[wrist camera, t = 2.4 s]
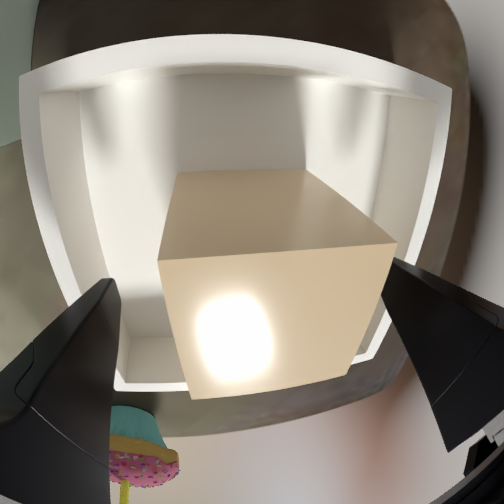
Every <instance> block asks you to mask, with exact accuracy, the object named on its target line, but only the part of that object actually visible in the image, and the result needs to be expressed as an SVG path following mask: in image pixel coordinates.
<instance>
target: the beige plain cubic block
mask: <svg viewBox="0 0 504 504" xmlns="http://www.w3.org/2000/svg"><path fill="white" fill-rule="evenodd" d="M397 244H398V242H396V241H395V240H394V239H393V238H392V237H391V236H390V235H389V234H387V233H386V232H385V231H384V230H383V229H382V228H380V227H379V226H378V225H377V224H376V223H375V222H373V221H372V220H371V219H370V218H369V217H367V216H366V215H365V214H364V213H363V212H361V211H360V210H359V209H358V208H356V207H355V206H354V205H353V204H351V203H350V202H349V201H348V200H346V199H345V198H344V197H342V196H341V195H340V194H339V193H337V192H336V191H335V190H333V189H332V188H331V187H329V186H328V185H327V184H325V183H324V182H323V181H321V180H320V179H319V178H317V177H316V176H314V175H313V174H312V173H310V172H309V171H308V170H306V169H242V170H215V171H197V172H182V173H177V177H176V181H175V184H174V188H173V192H172V196H171V200H170V204H169V208H168V212H167V217H166V221H165V225H164V230H163V234H162V239H161V244H160V249H159V254H158V259H157V263H158V268H159V273H160V279H161V284H162V288H163V293H164V298H165V302H166V307H167V311H168V316H169V320H170V324H171V328H172V332H173V336H174V340H175V344H176V348H177V351H178V355H179V359H180V362H181V366H182V369H183V373H184V376H185V379H186V383H187V386H188V389H189V392H190V396H191V399H207V398H219V397H229V396H238V395H246V394H253V393H260V392H266V391H273V390H279V389H284V388H290V387H295V386H300V385H305V384H309V383H314V382H318V381H323V380H327V379H331V378H335V377H339V376H343V375H346V373H347V371H348V369H349V367H350V365H351V363H352V361H353V359H354V357H355V355H356V352H357V350H358V348H359V346H360V344H361V342H362V339H363V337H364V335H365V332H366V330H367V328H368V325H369V323H370V321H371V318H372V316H373V313H374V311H375V308H376V306H377V303H378V300H379V298H380V295H381V292H382V290H383V287H384V284H385V281H386V278H387V276H388V273H389V270H390V267H391V264H392V261H393V257H394V254H395V251H396V248H397Z"/></svg>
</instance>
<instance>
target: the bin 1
mask: <svg viewBox="0 0 504 504" xmlns="http://www.w3.org/2000/svg"><path fill="white" fill-rule="evenodd" d="M38 4H39V0H0V147H2V146H4V145H7V144H9V143H12V142H14V141H17V140H19V139H22V138H21V127H20V113H19V76H21V75H23V74H25V73H27V72H30V71H31V56H32V44H33V35H34V28H35V21H36V15H37V9H38Z"/></svg>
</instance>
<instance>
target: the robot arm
mask: <svg viewBox="0 0 504 504" xmlns="http://www.w3.org/2000/svg"><path fill="white" fill-rule="evenodd" d="M381 297H382V300H383V302H384V305H385V307H386V309H387V312H388V314H389V316H390V318H391V320H392V322H393V324H394V326H395V328H396V330H397V332H398V334H399V336H400V338H401V340H402V342H403V344H404V346H405V348H406V350H407V352H408V355H409V357H410V359H411V361H412V363H413V365H414V368H415V370H416V372H417V374H418V376H419V379H420V381H421V383H422V386H423V388H424V390H425V393H426V395H427V398H428V400H429V402H430V405H431V408H432V411H433V413H434V416H435V418H436V421H437V424H438V427H439V430H440V432H441V435H442V438H443V441H444V444H445V447H446V449H447V452H448V453H449V452H450V451H452V450H453V449H455V448H456V447H458V446H459V445H461V444H462V443H464V442H465V441H466V440H468V439H469V438H470V437H472V436H473V435H474V434H475V433H477V432H478V431H479V430H480V429H483V430H484V432H485V435H484V436H483V437H482V438H481V439H479V440H478V441H477V442H476V443H475V444H473V445H472V446H471V447H470V448H469V452H468V456H467V461H466V466H465V469H464V476H465V478H464V479H463V480H461V481H460V482H459V483H458V484H456V485H455V486H454V487H452V488H451V489H450V490H448V491H447V492H446V493H444V494H443V495H441V496H440V497H439V498H437V499H436V500H434V501H433V502H431V503H430V504H504V308H503V307H501V306H499V305H496V304H494V303H492V302H490V301H488V300H486V299H484V298H482V297H479V296H477V295H475V294H473V293H471V292H469V291H467V290H465V289H463V288H461V287H459V286H457V285H455V284H453V283H451V282H449V281H447V280H444V279H442V278H440V277H438V276H436V275H434V274H432V273H429V272H427V271H425V270H423V269H421V268H418V267H416V266H414V265H412V264H409V263H407V262H405V261H403V260H400V259H398V258H396V257H393V261H392V264H391V267H390V270H389V273H388V276H387V278H386V281H385V284H384V287H383V290H382V292H381ZM121 305H122V304H121V297H120V294H119V291H118V288H117V285H116V282H115V280H114V279H113V278H102V279H100V280H99V281H98V282H97V283H96V284H94V285H93V286H92V287H91V288H90V289H89V290H87V291H86V292H85V293H84V294H83V295H82V296H80V297H79V298H78V299H77V300H76V301H75V302H74V303H73V304H71V305H70V306H69V307H68V308H67V309H66V310H65V311H64V312H63V313H61V314H60V315H59V316H58V317H57V318H56V319H55V320H54V321H53V322H52V323H51V324H50V325H49V326H47V327H46V328H45V329H44V330H43V331H42V332H41V333H40V334H39V335H38V336H37V337H36V338H35V339H34V340H33V343H32V342H31V343H30V344H29V345H28V346H27V347H26V348H25V349H24V350H23V351H22V352H21V353H20V354H19V355H18V356H17V357H16V358H15V359H14V360H13V361H12V362H10V363H9V364H8V365H7V366H6V367H5V368H4V369H3V370H2V371H1V372H0V504H111V502H110V482H109V481H110V479H109V444H110V423H111V409H112V398H113V388H114V379H115V371H116V364H117V357H118V349H119V336H120V319H121Z"/></svg>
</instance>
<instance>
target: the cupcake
mask: <svg viewBox="0 0 504 504" xmlns="http://www.w3.org/2000/svg"><path fill="white" fill-rule="evenodd" d="M179 471H180V470H179V458H178V453H177V452H176V451H175V450H172V449H168V448H167V447H166V445H165V443H164V441H163V439H162V437H161V434H160V432H159V429H158V426H157V423H156V420H155V418H154V417H153V416H152V415H151V414H150V413H148V412H146V411H144V410H141V409H138V408H135V407H130V406H112V409H111V423H110V444H109V479H110V481H112V482H117V483H119V484H121V488H120V504H128V497H129V487H131V486H135V487H143V488H146V487H151V486H152V487H154V486H159V485H162V484H163V483H165V482H167V481H169V480H171V479H173V478H175V476H176V475H178V473H179Z"/></svg>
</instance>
